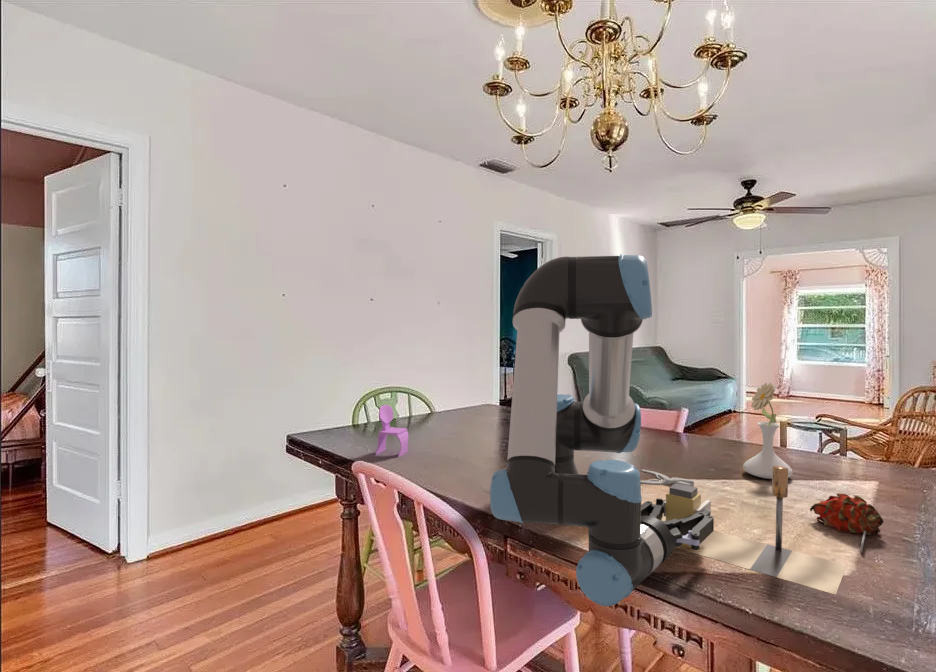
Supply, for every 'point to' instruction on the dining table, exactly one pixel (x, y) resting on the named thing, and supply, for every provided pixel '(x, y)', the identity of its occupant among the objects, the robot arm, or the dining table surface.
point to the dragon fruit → (848, 514)
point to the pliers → (666, 480)
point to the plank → (772, 561)
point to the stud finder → (681, 502)
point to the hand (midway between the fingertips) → (693, 503)
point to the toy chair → (390, 431)
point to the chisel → (779, 499)
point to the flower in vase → (765, 438)
